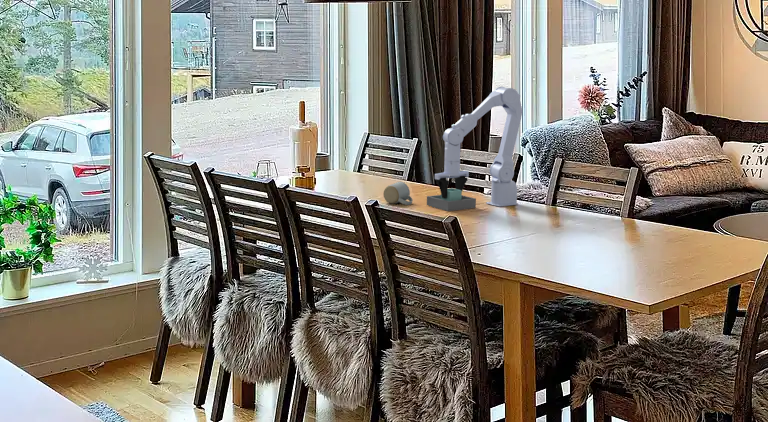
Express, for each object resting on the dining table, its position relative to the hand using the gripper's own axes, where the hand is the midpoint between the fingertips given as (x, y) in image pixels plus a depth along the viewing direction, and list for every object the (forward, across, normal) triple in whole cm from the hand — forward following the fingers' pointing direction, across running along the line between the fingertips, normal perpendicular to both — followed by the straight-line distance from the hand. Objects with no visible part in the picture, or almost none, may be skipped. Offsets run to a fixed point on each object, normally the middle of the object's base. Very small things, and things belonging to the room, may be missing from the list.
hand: (451, 197), depth 351 cm
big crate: (+4, 0, 0) cm, 4 cm away
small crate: (+3, 0, 0) cm, 3 cm away
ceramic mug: (+4, +12, -16) cm, 21 cm away
